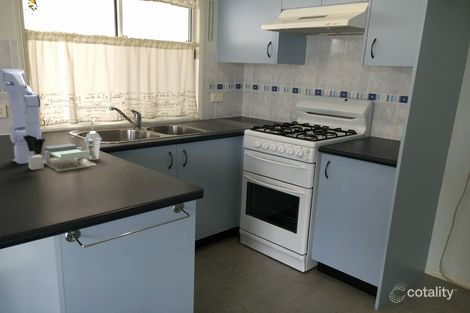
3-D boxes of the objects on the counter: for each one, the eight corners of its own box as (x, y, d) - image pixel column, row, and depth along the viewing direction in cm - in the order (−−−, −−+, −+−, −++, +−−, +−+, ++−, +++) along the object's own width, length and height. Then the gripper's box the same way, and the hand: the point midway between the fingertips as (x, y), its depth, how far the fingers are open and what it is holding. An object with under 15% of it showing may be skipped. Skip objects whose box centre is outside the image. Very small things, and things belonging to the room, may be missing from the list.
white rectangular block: (28, 168, 172) (27, 156, 170) (40, 166, 175) (39, 154, 174) (32, 169, 169) (30, 157, 168) (43, 168, 172) (42, 156, 171)
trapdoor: (45, 155, 184) (44, 146, 183) (72, 152, 193) (71, 143, 192) (62, 163, 169) (61, 154, 168) (90, 159, 178) (90, 150, 177)
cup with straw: (81, 159, 191) (78, 119, 186) (95, 155, 199) (93, 117, 194) (93, 161, 187) (91, 120, 182) (107, 157, 195) (105, 118, 190)
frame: (40, 161, 183) (39, 149, 181) (76, 156, 195) (76, 145, 194) (58, 171, 168) (57, 158, 166) (96, 165, 180) (96, 152, 179)
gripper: (17, 121, 169) (20, 151, 173) (28, 125, 160) (30, 156, 163) (34, 120, 174) (36, 149, 177) (45, 123, 164) (48, 154, 167)
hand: (35, 152), depth 170 cm, fingers open, 7 cm apart
